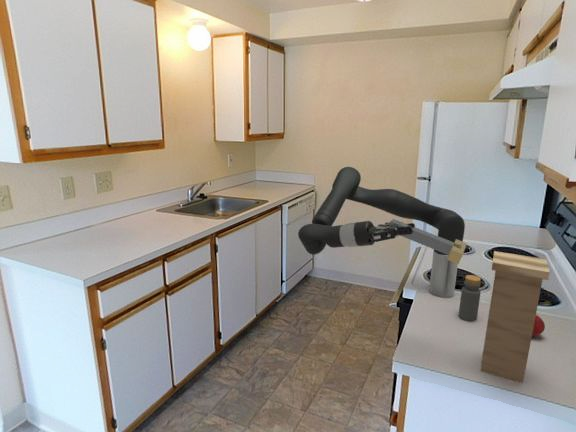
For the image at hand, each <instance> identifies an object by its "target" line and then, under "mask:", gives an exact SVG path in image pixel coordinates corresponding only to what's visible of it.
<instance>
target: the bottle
mask: <svg viewBox="0 0 576 432" xmlns="http://www.w3.org/2000/svg"><path fill="white" fill-rule="evenodd" d="M481 280H482V279H481V278H480V277H479V276H477V275H473V274H469V275H468V274H466V275H465V280H464V281H463V285H464V286H462V288H461V293H460V301H459V309H458V317H459V318H460V319H461V320H463V321H466V322H475V321H477V320H478V319H477V318H478V314H479V305H480V300H481V290H480V287H481Z"/></svg>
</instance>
